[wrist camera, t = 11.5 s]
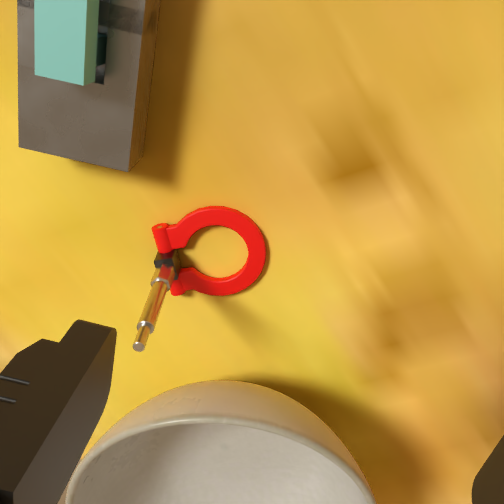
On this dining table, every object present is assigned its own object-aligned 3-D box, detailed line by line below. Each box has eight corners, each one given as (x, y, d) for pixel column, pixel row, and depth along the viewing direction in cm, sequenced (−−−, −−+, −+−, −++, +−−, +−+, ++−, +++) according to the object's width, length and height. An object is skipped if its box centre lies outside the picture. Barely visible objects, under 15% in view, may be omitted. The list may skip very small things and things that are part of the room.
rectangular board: (48, -189, 29) (15, -217, 25) (178, -155, 29) (163, -178, 26) (43, 134, 38) (18, 147, 34) (142, 156, 38) (127, 172, 35)
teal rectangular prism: (80, -65, 31) (33, -81, 25) (126, -54, 31) (89, -68, 26) (76, 63, 35) (34, 74, 29) (116, 73, 35) (83, 85, 29)
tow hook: (256, 196, 40) (149, 214, 41) (255, 271, 28) (106, 294, 29) (272, 282, 44) (174, 296, 44) (277, 379, 32) (144, 397, 33)
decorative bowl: (59, 393, 51) (-2, 496, 40) (268, 274, 43) (262, 364, 32) (210, 531, 60) (194, 645, 49) (406, 455, 52) (438, 572, 41)
